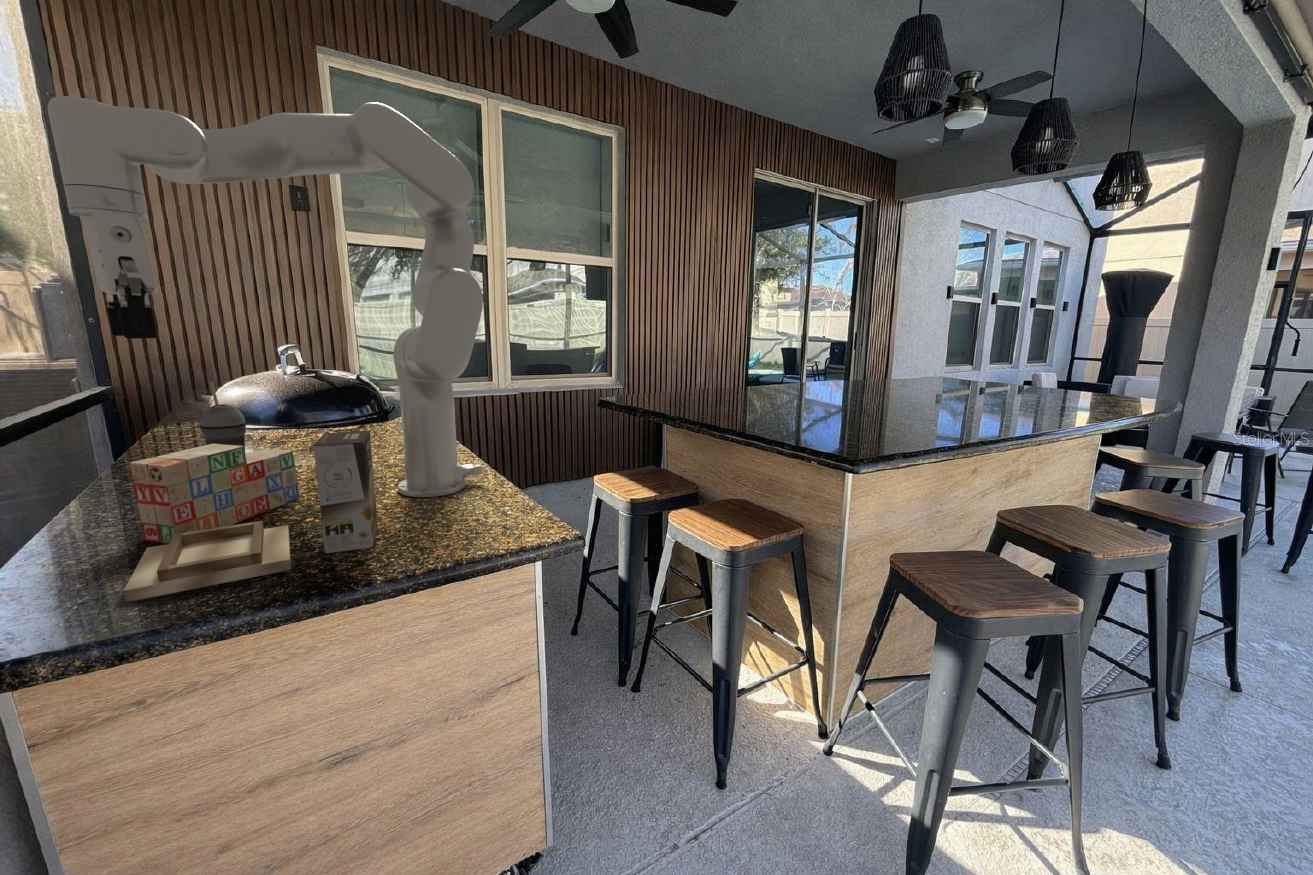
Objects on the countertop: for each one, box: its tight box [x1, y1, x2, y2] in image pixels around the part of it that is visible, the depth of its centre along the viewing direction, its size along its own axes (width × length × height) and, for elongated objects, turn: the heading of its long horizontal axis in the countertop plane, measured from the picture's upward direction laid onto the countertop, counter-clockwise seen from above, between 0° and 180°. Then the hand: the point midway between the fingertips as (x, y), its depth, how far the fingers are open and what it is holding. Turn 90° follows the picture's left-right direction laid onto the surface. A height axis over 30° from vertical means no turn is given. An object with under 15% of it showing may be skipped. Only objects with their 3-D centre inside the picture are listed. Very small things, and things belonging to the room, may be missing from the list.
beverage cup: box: [198, 381, 248, 450], centre depth 105 cm, size 7×7×20 cm
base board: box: [123, 520, 292, 603], centre depth 72 cm, size 16×14×3 cm
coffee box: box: [312, 430, 379, 554], centre depth 80 cm, size 9×6×16 cm
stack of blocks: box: [129, 444, 300, 544], centre depth 87 cm, size 21×6×12 cm, turn 169°
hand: (134, 336), depth 75 cm, fingers open, 9 cm apart
